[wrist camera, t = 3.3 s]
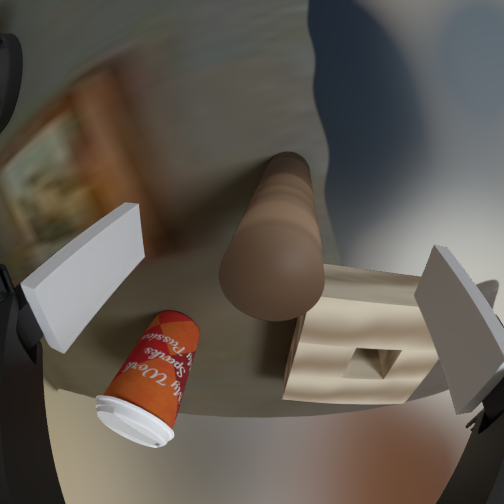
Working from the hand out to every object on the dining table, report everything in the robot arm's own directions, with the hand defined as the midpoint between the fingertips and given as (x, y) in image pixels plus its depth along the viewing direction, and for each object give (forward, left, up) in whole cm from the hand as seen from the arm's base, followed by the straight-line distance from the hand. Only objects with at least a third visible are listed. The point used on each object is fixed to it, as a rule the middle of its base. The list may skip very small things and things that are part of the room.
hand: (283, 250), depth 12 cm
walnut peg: (0, 0, -12) cm, 12 cm away
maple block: (+16, +11, -12) cm, 23 cm away
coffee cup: (+20, -11, -13) cm, 26 cm away
